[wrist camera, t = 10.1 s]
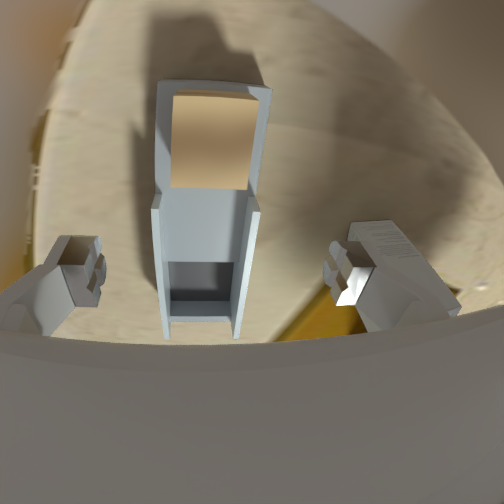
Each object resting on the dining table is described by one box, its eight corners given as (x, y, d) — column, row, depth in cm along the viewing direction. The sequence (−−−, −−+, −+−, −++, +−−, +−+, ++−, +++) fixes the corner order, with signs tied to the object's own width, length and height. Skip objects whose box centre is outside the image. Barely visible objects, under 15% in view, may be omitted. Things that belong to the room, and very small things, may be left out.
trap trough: (233, 302, 36) (238, 338, 31) (166, 302, 34) (164, 339, 30) (264, 85, 21) (281, 93, 17) (163, 79, 19) (151, 85, 15)
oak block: (239, 167, 22) (246, 189, 19) (175, 165, 21) (170, 187, 18) (249, 93, 18) (259, 100, 15) (179, 89, 17) (173, 95, 14)
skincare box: (376, 269, 36) (429, 360, 25) (335, 275, 36) (384, 376, 24) (392, 215, 31) (467, 307, 20) (347, 218, 30) (418, 323, 19)
